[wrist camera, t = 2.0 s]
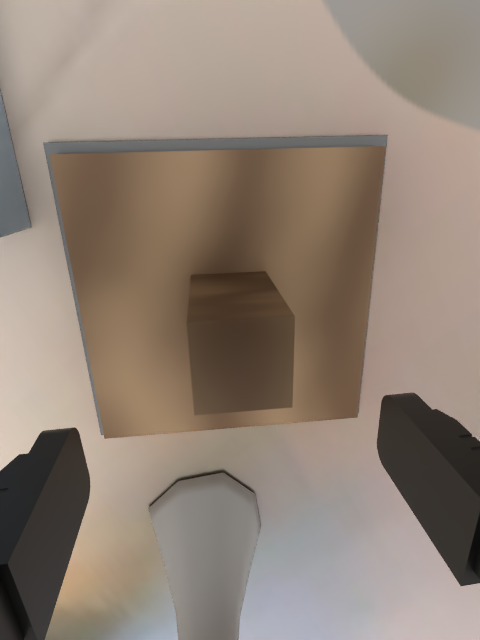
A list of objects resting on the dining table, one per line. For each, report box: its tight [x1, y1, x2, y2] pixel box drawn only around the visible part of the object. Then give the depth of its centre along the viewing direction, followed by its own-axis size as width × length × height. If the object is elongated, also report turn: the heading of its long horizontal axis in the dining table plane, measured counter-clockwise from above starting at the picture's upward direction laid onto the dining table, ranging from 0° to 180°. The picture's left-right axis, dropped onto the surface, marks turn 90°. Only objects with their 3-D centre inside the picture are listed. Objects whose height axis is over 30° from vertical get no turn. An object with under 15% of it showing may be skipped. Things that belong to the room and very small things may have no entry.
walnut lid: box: [50, 146, 386, 438], centre depth 16 cm, size 14×14×7 cm
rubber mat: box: [44, 135, 388, 435], centre depth 20 cm, size 15×15×1 cm
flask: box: [148, 473, 261, 640], centre depth 21 cm, size 7×7×10 cm
